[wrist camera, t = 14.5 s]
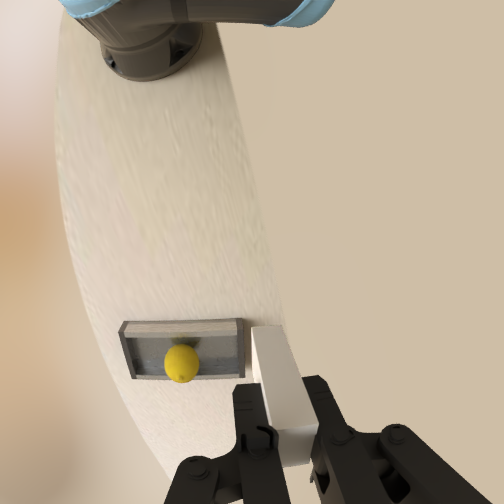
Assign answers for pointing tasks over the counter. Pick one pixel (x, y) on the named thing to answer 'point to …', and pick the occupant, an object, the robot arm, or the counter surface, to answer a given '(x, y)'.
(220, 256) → the counter surface
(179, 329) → the tray
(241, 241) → the counter surface
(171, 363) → the lemon
